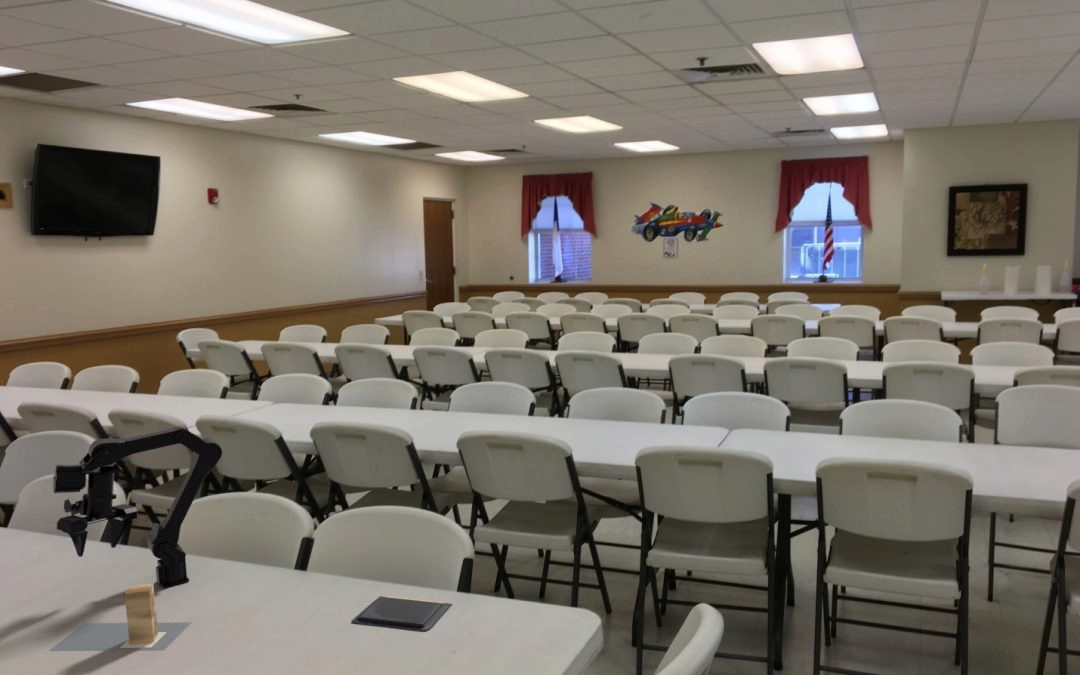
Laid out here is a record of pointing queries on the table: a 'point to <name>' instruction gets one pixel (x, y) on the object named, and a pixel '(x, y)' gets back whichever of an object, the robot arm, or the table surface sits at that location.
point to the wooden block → (141, 614)
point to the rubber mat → (116, 637)
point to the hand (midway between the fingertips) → (96, 551)
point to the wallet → (402, 614)
